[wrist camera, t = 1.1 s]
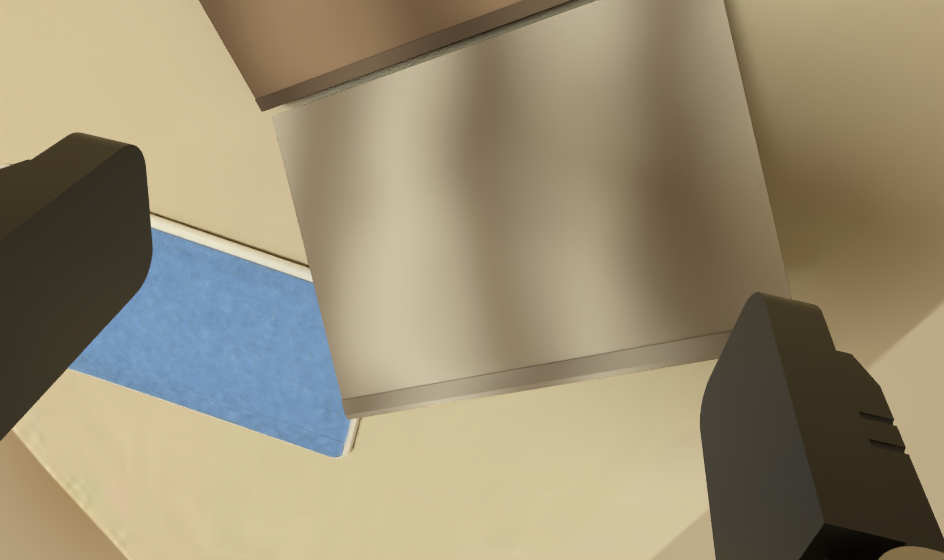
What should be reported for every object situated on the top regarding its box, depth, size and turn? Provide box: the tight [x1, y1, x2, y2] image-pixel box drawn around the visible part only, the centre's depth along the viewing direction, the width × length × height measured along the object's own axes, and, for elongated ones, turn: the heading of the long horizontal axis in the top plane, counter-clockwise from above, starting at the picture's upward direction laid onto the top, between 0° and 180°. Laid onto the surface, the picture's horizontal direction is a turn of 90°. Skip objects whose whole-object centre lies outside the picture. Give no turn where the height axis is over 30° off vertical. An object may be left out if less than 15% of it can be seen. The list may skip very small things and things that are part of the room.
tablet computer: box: [0, 164, 360, 459], centre depth 39 cm, size 19×13×1 cm, turn 75°
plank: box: [272, 0, 792, 420], centre depth 27 cm, size 16×12×2 cm
